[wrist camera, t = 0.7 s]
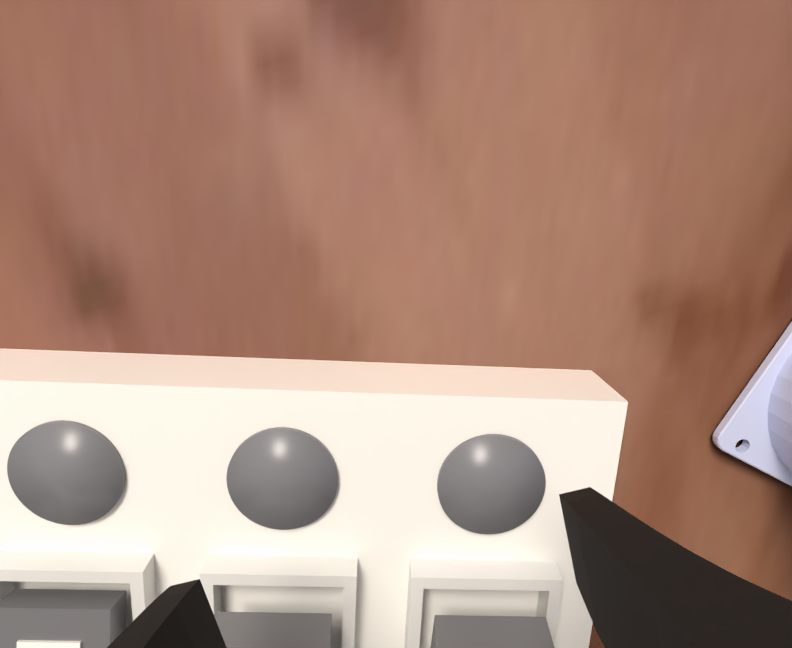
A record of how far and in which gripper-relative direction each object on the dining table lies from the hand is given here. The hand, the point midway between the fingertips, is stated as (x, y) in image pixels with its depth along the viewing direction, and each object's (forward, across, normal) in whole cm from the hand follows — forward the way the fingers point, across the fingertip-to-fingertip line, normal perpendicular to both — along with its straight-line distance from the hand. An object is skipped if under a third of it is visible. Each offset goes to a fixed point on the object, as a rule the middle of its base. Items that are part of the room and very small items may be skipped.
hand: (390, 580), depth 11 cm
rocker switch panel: (+10, +4, +4) cm, 11 cm away
